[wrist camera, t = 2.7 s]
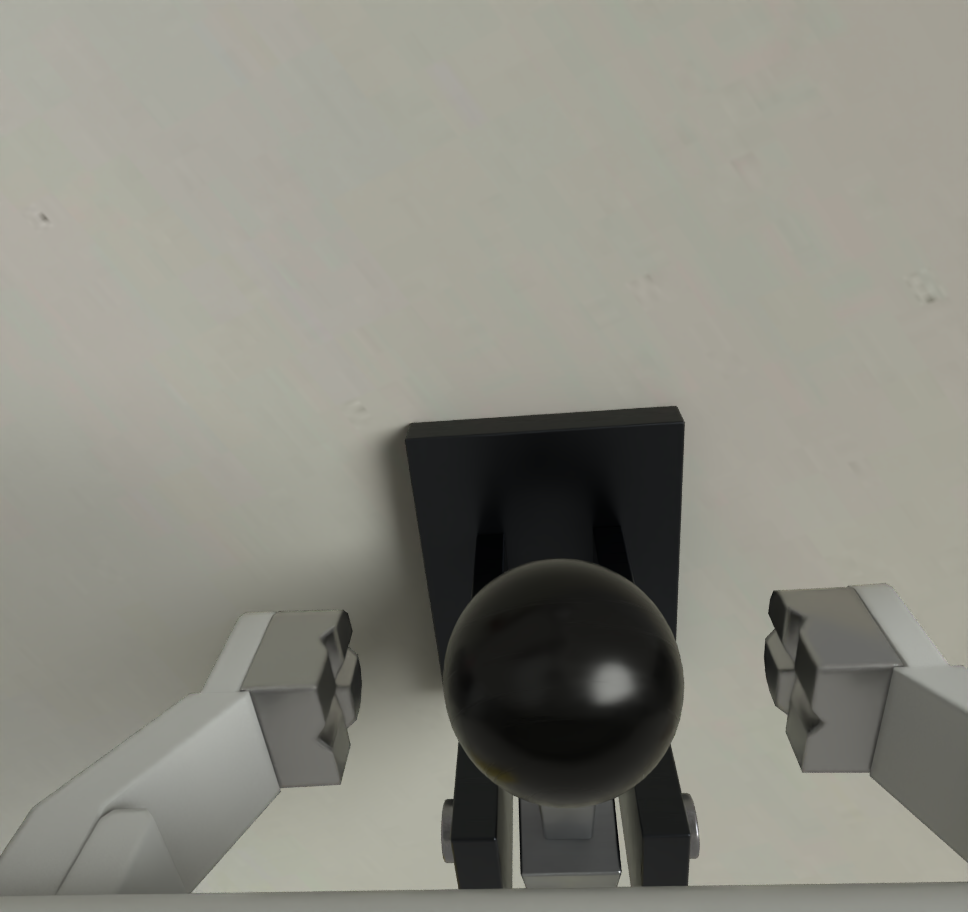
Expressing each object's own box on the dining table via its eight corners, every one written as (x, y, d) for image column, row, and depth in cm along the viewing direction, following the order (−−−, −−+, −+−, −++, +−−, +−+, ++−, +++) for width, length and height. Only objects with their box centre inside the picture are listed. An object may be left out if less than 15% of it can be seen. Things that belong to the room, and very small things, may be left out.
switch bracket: (409, 422, 25) (321, 712, 14) (677, 405, 25) (814, 695, 13) (448, 683, 31) (408, 1042, 19) (668, 674, 30) (759, 1042, 19)
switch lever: (430, 520, 10) (418, 775, 8) (675, 506, 10) (724, 767, 8) (504, 775, 20) (507, 912, 18) (623, 771, 20) (638, 910, 18)
